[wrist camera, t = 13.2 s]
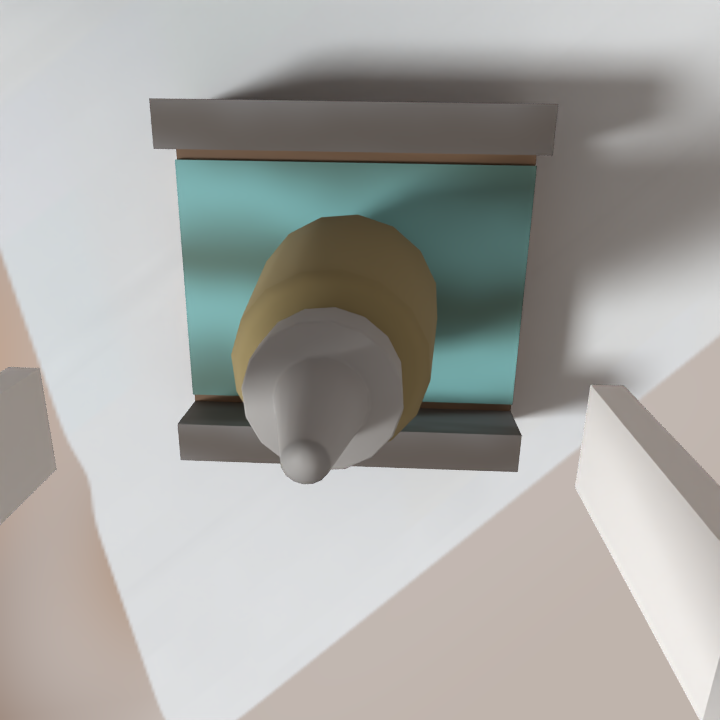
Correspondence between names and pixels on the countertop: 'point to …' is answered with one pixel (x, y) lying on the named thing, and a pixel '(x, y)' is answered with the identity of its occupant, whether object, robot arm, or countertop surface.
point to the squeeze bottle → (336, 344)
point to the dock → (375, 201)
